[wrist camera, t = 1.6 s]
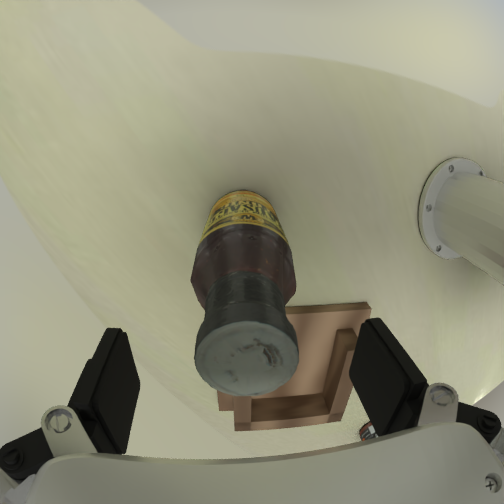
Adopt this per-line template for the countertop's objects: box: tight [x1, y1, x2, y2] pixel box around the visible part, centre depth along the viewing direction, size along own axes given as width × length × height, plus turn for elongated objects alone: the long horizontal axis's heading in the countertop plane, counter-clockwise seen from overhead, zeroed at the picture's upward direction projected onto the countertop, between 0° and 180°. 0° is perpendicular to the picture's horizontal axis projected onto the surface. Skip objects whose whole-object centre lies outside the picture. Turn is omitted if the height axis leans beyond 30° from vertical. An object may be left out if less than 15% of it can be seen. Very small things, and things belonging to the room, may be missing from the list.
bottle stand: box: [217, 302, 371, 431], centre depth 34 cm, size 18×16×6 cm
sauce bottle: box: [191, 190, 299, 396], centre depth 20 cm, size 7×6×20 cm
